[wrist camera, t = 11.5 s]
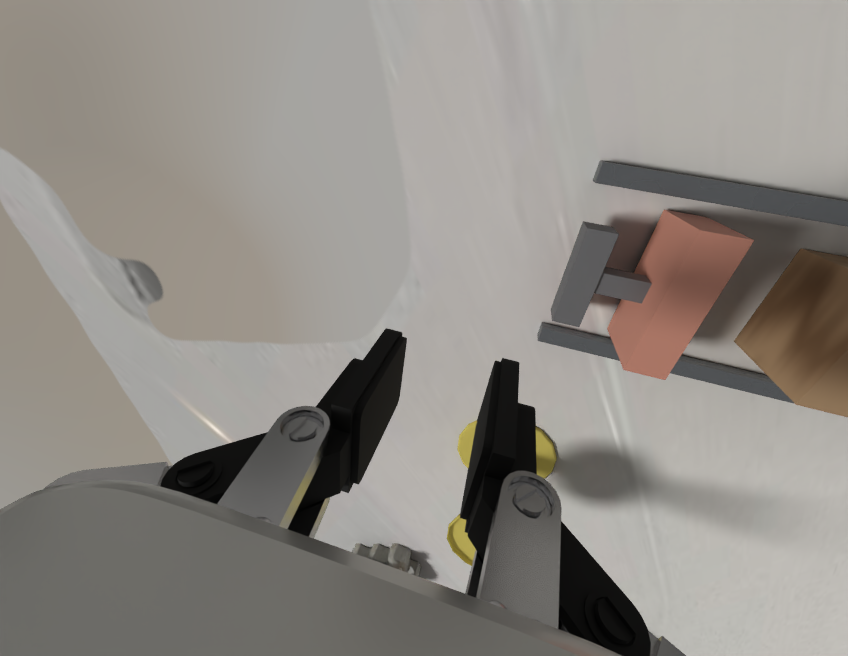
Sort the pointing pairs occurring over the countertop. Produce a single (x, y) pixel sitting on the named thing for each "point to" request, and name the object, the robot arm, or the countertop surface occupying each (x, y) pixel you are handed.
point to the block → (805, 332)
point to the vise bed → (718, 194)
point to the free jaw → (652, 286)
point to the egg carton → (390, 557)
